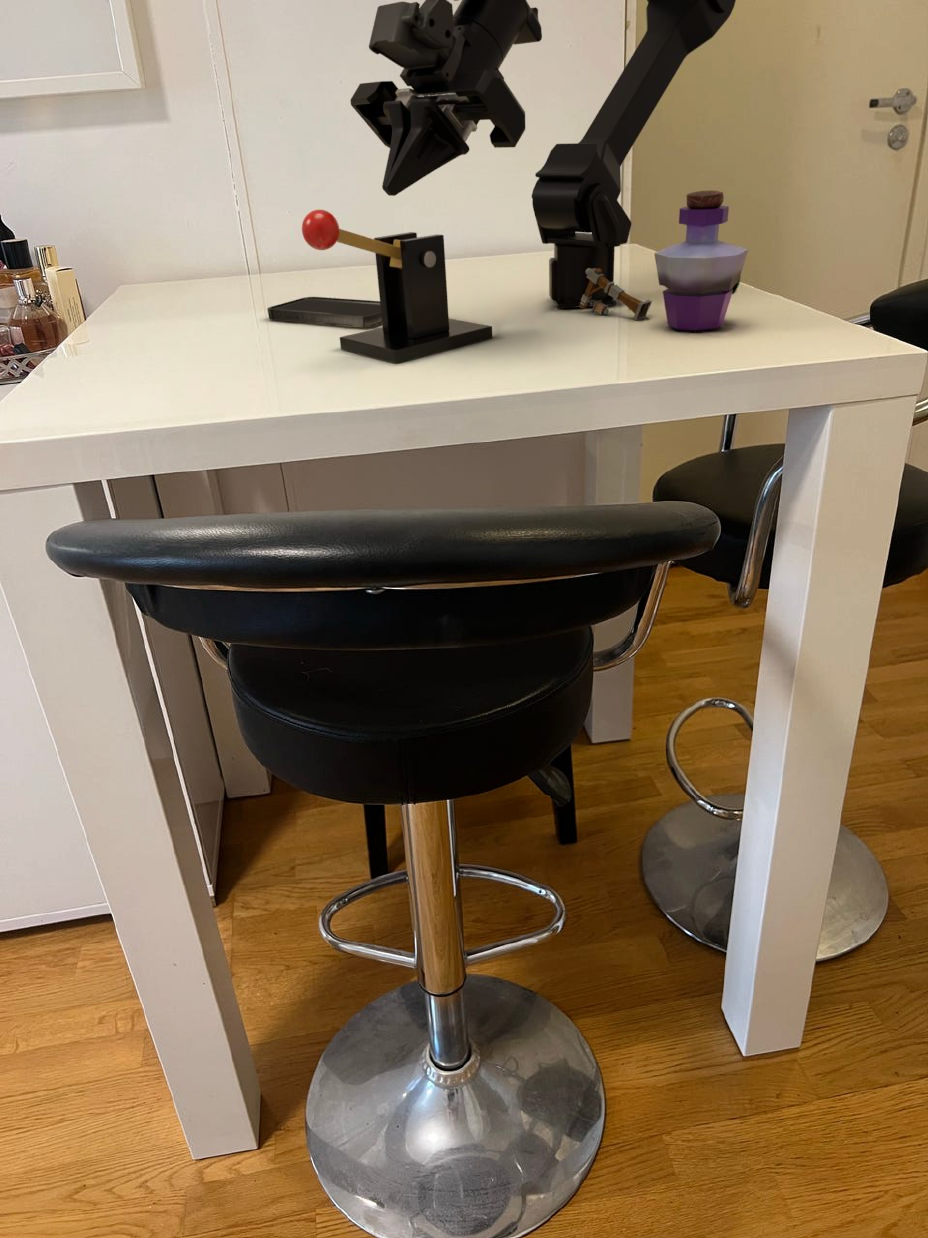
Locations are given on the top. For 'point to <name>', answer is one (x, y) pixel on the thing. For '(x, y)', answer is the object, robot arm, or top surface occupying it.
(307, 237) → the lever
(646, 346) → the top surface
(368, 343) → the bracket
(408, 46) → the robot arm
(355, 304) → the phone
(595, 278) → the wooden post with brackets
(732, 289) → the potion bottle
